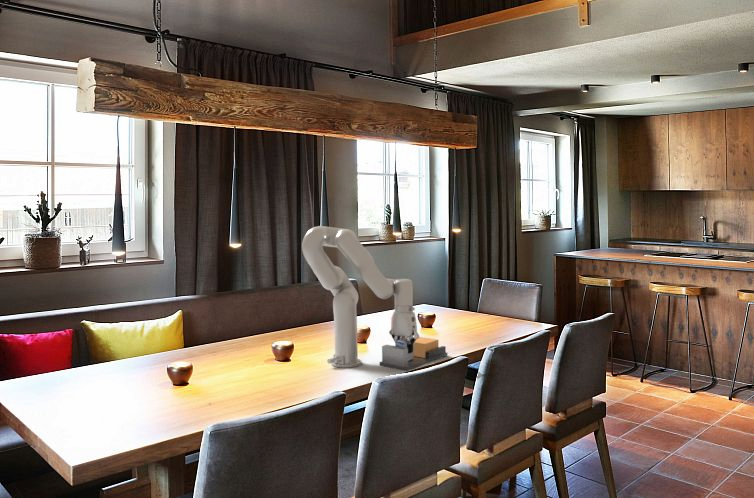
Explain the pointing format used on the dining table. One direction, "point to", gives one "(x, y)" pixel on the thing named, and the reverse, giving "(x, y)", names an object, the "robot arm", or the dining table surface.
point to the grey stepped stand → (399, 357)
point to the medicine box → (405, 346)
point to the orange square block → (424, 346)
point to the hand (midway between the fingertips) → (404, 351)
